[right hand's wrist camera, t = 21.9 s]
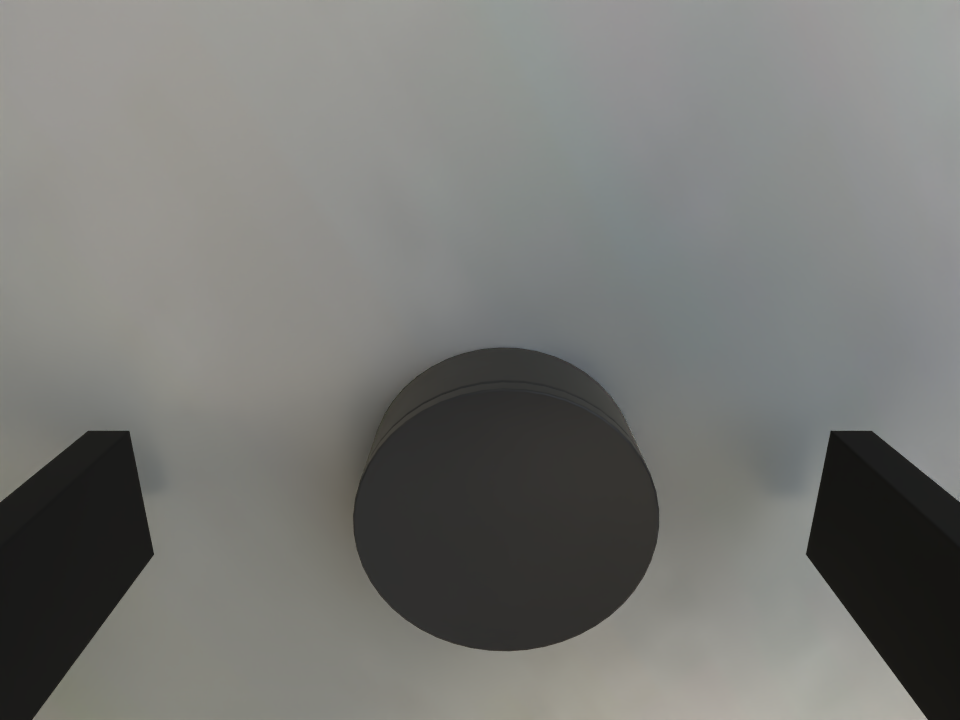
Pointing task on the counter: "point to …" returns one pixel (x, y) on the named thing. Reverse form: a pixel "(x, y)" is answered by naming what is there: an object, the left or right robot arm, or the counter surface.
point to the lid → (505, 502)
